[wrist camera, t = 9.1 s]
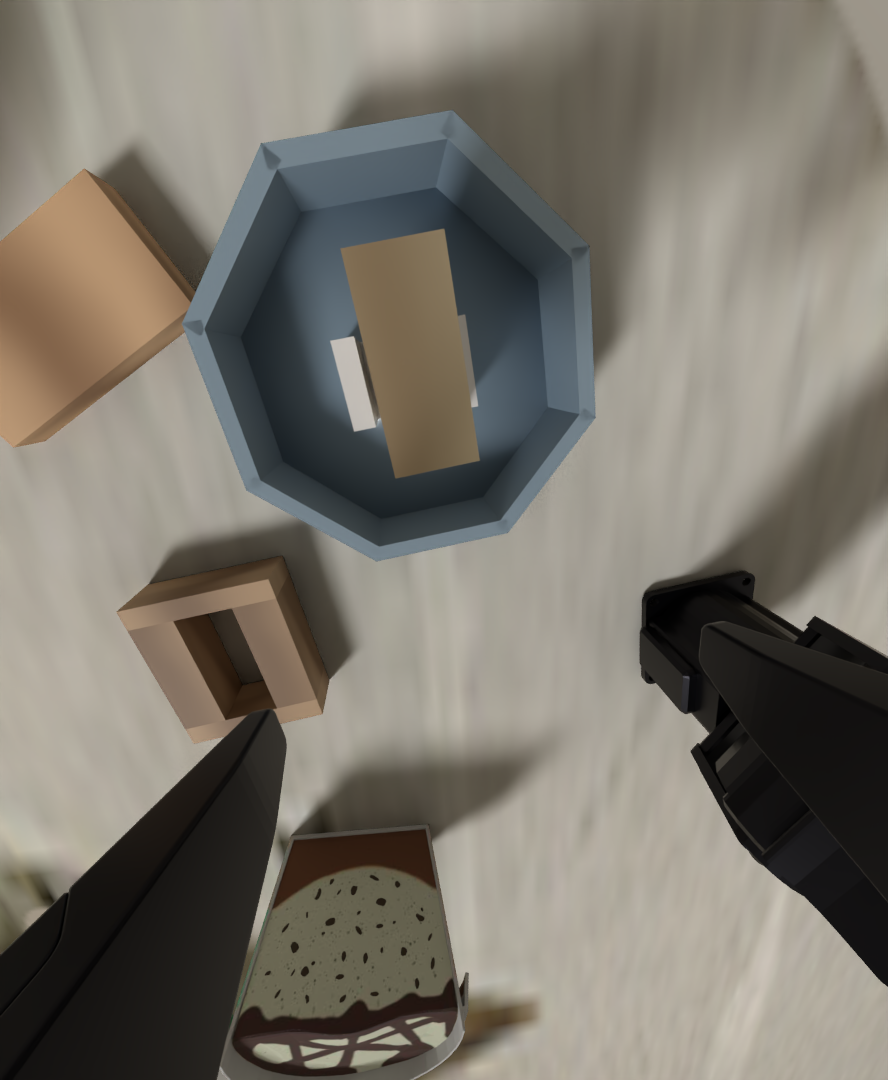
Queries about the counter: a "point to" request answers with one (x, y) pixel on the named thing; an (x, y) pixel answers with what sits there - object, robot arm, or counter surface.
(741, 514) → the counter surface
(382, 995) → the food container
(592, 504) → the counter surface
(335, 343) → the blue octagonal bowl
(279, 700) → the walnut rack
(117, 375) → the tapered wooden plank
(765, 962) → the counter surface
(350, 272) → the bar
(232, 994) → the robot arm
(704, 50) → the counter surface
